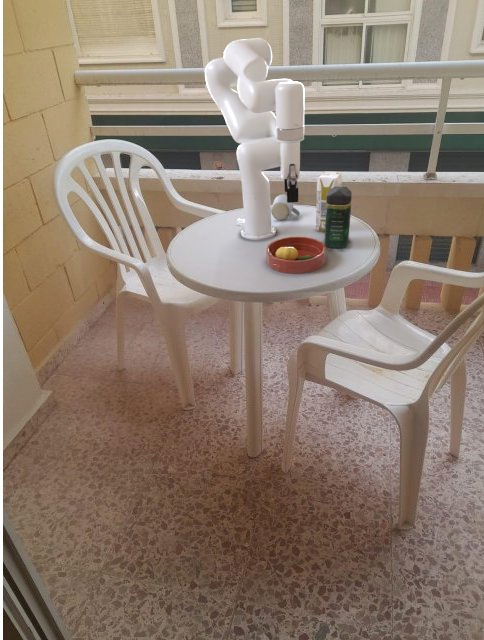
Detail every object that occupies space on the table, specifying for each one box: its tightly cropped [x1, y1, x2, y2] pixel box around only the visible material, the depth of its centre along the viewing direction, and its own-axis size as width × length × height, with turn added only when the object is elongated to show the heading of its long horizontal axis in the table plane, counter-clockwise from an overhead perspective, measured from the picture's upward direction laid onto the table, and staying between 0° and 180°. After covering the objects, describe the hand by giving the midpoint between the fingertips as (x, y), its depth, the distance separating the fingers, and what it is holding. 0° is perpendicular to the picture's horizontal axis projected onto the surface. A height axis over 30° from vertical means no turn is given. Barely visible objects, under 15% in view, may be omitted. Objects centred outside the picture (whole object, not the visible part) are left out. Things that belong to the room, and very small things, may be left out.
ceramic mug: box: [271, 194, 301, 221], centre depth 172 cm, size 11×8×8 cm
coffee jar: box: [323, 186, 353, 250], centre depth 147 cm, size 10×8×19 cm
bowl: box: [265, 235, 327, 275], centre depth 142 cm, size 18×18×4 cm
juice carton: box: [315, 171, 343, 232], centre depth 158 cm, size 8×9×19 cm
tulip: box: [276, 247, 315, 261], centre depth 142 cm, size 13×5×4 cm, turn 90°
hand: (291, 196), depth 133 cm, fingers open, 9 cm apart
